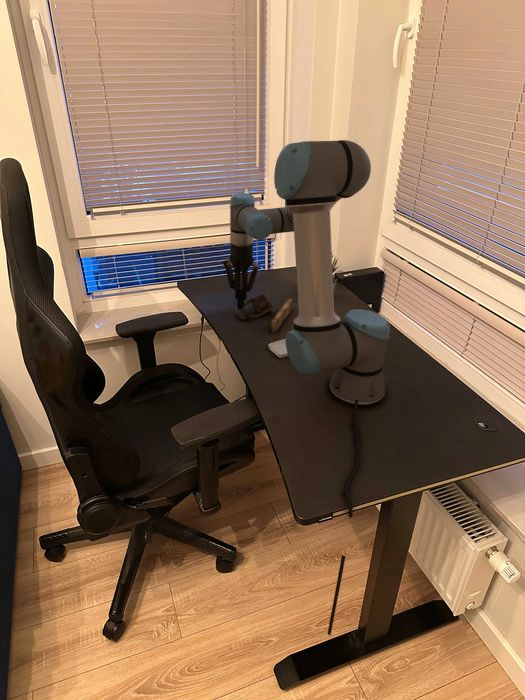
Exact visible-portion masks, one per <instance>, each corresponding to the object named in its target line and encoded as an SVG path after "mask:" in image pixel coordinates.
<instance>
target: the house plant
mask: <svg viewBox="0 0 525 700" xmlns="http://www.w3.org/2000/svg"><path fill="white" fill-rule="evenodd" d="M334 256H335V254H332V258H333V257H334ZM338 261H339V258H337V256H335V257H334V259H333V260H332V273H333V292H334V291H335V286H336V283H337V281H338V278H334V277H335V275H336V274H338V273H340V272H342V273H344V271H343V270H338V271H336V270H337V269H338V268H339V266H337V263H338ZM342 265H343V263H341V264H340V266H342Z"/></svg>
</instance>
